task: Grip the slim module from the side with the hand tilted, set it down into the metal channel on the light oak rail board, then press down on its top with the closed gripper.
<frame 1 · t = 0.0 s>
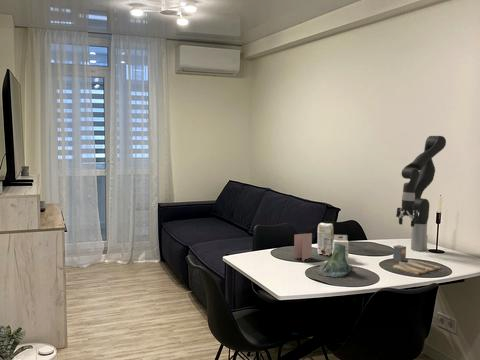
hand: (406, 225, 288), 17 cm above the table, tool pointing down, fingers open, 8 cm apart
greeting card: (305, 260, 273), on the table
rail board: (416, 268, 256), on the table
module: (399, 260, 271), on the table
tree stump: (334, 272, 249), on the table
juice carton: (325, 254, 286), on the table
ink cartridge box: (340, 260, 272), on the table
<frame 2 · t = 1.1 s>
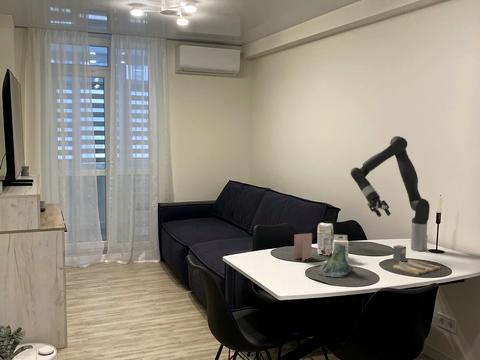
hand: (384, 215, 278), 25 cm above the table, tool tilted 45°, fingers open, 8 cm apart
nothing on the table moved.
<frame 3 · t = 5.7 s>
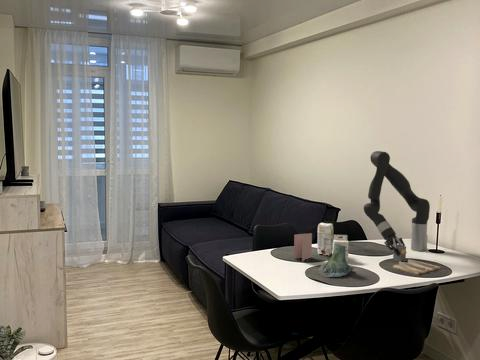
hand: (402, 254, 269), 4 cm above the table, tool tilted 45°, fingers closed on module, 4 cm apart
module: (399, 260, 271), on the table, touching gripper
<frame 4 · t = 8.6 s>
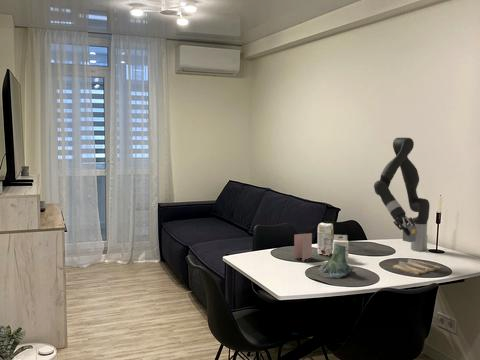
hand: (412, 234, 258), 18 cm above the table, tool tilted 45°, fingers closed on module, 4 cm apart
module: (409, 240, 260), point 14 cm above the table, touching gripper
when the fingers open (7 cm above the table, at t = 11.5 s): module drops 2 cm, resting on rail board.
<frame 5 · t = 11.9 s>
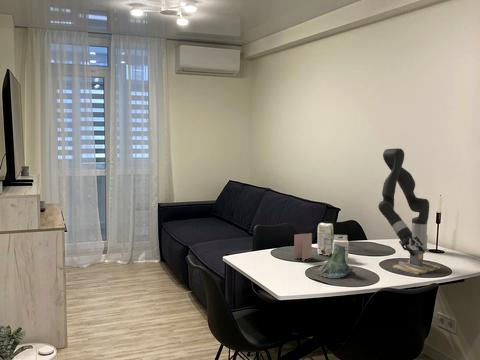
hand: (418, 254, 254), 8 cm above the table, tool tilted 45°, fingers open, 8 cm apart
module: (416, 266, 256), point 1 cm above the table, touching rail board
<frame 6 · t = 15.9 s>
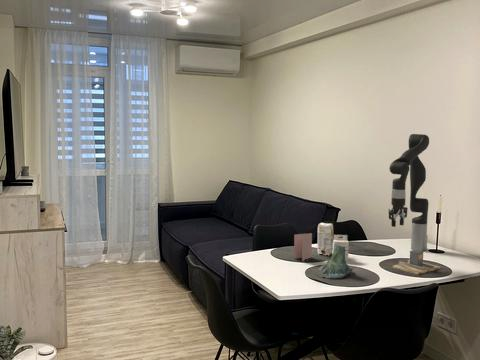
hand: (397, 225, 265), 22 cm above the table, tool pointing down, fingers open, 6 cm apart
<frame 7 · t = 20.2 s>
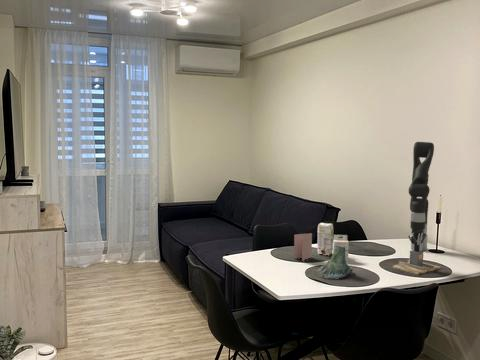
hand: (416, 251, 255), 10 cm above the table, tool pointing down, fingers closed
module: (416, 266, 256), point 1 cm above the table, touching gripper, rail board
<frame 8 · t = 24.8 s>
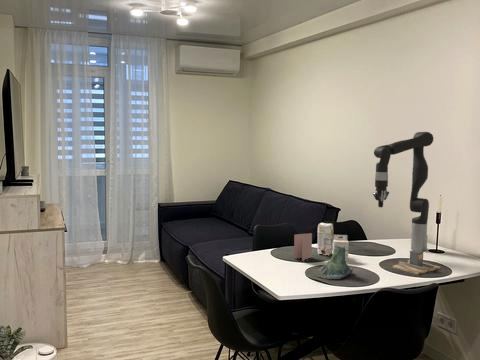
hand: (380, 207, 285), 29 cm above the table, tool pointing down, fingers closed
module: (416, 266, 256), point 1 cm above the table, touching rail board
at the end: module 0.1 cm off-centre on the rail board, point 1.0 cm above the rail board's base; module tilted 0°; the gripper is holding nothing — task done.
